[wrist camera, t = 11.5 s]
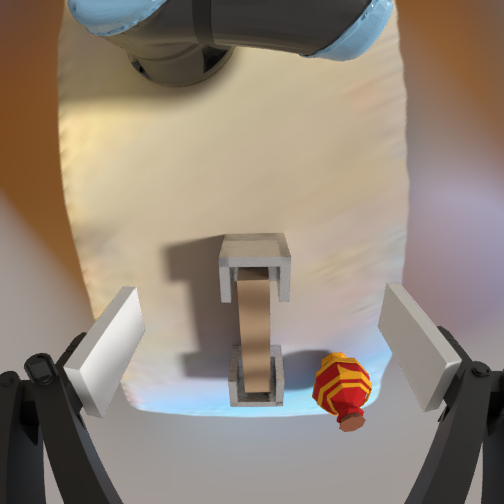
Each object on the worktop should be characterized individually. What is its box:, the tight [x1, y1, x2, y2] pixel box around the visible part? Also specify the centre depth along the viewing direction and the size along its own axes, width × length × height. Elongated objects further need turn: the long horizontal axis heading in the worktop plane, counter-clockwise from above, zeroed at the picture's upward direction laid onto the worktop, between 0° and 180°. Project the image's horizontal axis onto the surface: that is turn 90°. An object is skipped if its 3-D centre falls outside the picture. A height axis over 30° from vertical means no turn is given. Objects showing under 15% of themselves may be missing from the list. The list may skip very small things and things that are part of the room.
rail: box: [237, 267, 270, 392], centre depth 43 cm, size 20×4×5 cm, turn 2°
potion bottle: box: [312, 353, 372, 432], centre depth 46 cm, size 10×10×15 cm
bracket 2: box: [228, 345, 285, 407], centre depth 48 cm, size 6×8×9 cm
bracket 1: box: [218, 233, 291, 303], centre depth 41 cm, size 6×8×9 cm
